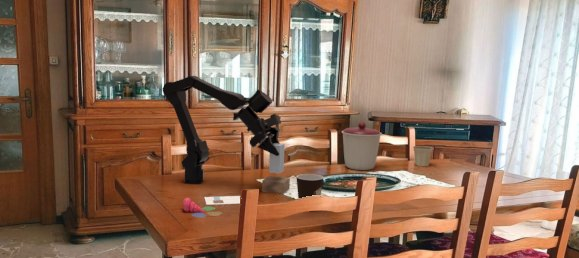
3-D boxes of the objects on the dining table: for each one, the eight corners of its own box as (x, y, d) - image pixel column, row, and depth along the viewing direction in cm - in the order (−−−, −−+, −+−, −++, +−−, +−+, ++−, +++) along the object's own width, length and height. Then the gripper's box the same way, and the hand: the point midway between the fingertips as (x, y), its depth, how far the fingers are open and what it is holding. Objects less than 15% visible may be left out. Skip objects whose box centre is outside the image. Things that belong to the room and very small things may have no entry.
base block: (262, 191, 177) (262, 180, 176) (268, 186, 185) (269, 176, 184) (283, 193, 175) (283, 182, 174) (289, 188, 183) (289, 178, 182)
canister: (351, 162, 237) (353, 118, 234) (386, 168, 226) (389, 122, 224) (332, 168, 222) (334, 121, 220) (368, 174, 212) (371, 125, 209)
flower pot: (434, 167, 231) (435, 149, 230) (414, 167, 231) (415, 148, 230) (429, 163, 240) (430, 146, 239) (409, 163, 240) (410, 145, 239)
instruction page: (206, 205, 158) (206, 204, 158) (204, 197, 167) (204, 196, 167) (243, 203, 161) (243, 203, 161) (239, 196, 170) (239, 195, 169)
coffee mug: (303, 212, 153) (304, 181, 152) (290, 205, 161) (291, 175, 160) (335, 208, 159) (336, 178, 157) (321, 201, 166) (322, 172, 165)
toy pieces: (182, 219, 144) (182, 204, 143) (182, 208, 155) (182, 194, 154) (223, 217, 146) (223, 203, 146) (221, 207, 157) (221, 193, 157)
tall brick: (268, 172, 177) (269, 145, 176) (273, 169, 182) (274, 143, 180) (279, 173, 176) (280, 145, 174) (283, 170, 180) (284, 143, 179)
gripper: (259, 108, 168) (289, 143, 166) (275, 105, 186) (303, 136, 184) (237, 130, 171) (266, 164, 169) (255, 124, 189) (282, 155, 187)
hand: (280, 154), depth 177 cm, fingers closed on tall brick, 5 cm apart
